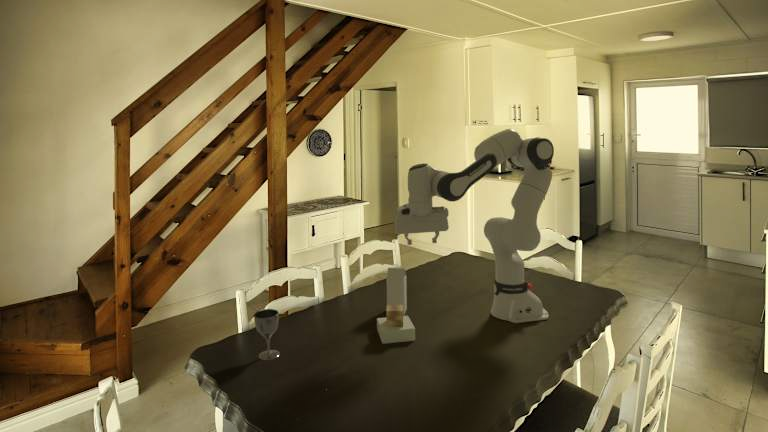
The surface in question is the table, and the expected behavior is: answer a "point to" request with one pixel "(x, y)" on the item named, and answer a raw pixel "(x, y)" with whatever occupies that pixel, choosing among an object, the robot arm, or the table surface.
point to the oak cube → (394, 315)
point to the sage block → (396, 331)
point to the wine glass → (267, 330)
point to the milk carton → (397, 287)
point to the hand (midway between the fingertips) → (422, 243)
